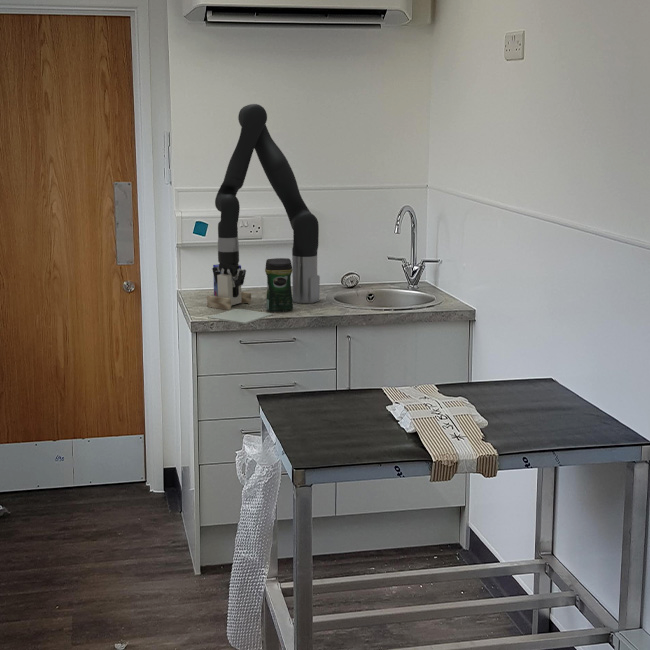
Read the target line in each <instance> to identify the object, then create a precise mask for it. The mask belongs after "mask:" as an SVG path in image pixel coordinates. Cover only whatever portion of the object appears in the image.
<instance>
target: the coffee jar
mask: <svg viewBox="0 0 650 650" xmlns="http://www.w3.org/2000/svg"><path fill="white" fill-rule="evenodd" d="M264 270H265V271H264V272H265V274H266V278H267V279H266V282H267V283H266V286H267V287H266V296H265V297H266V299H265V301H266V302H265V310H266V311H267V312H271V313H273V312H274V313H282V312H283V311H284V312H290V311H292V310H294V302H293V291H292V285H291V284H292V280H291V277H292V260H291V259H290V258H287V257H285V258H283V257H282V258H281V257H280V258H279V257H277V258H267V259H266V261H265V267H264Z"/></svg>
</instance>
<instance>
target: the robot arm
mask: <svg viewBox="0 0 650 650" xmlns="http://www.w3.org/2000/svg"><path fill="white" fill-rule="evenodd" d="M237 119H238V123H239V125H240V134H239V138H238V141H237V144H236V146H235V149H234V150H233V153H232V154H231V157H230V160H229V162H228V164H227V167H226V172H225V175H224V178H223V182H222V183H221V185H220V186H219V189H218V191H217V193H216V196H215V201H214V206H215V208H216V210H218V211H219V212H220V220H219V222H218V224H217V235H218V236H217V259H218V260H217V261H218V264H219V266H218V267H214V268H213V267H212V268H211V270H212V273H213V274H214V275H213V279H214V278H215V282H216V283H217V284H218V281H217V275H220V272H221V274H228V275H231V281H232V285H233V297H238V295H239V286H240V285H241V286H243V285H244V283H245V279H246V278H245V277H246V272H247V270H246V269H242V268H241V269H240V268H239V265H240V264H239V262H240V242H239V235H238V233H239V231H238V230H239V229H238V223H239V219H240V218H239V216H240V210H241V209H240V202H239V199H238V197H237V195H238V192H239V190H240V189H242V188H243V186H244V183H245V180H246V177H247V173H248V170H249V167H250V163H251V160H252V156H253V153H254V151H255V153H256V155H257V157H258V158H257V159H258V161H259V163H260V165H261V167H262V169H263V172H264V174H265V176H266V178H267V180H268V182H269V184H270V185H271V187H272V189H273V191H274V192H275V194H276V196H277V197H278V199H279V200H280V202H281V204H282V205H283V207H284V210H285V212H286V215H287V217H288V220H289V223H290V226H291V229H292V231H293V232H292V233H293V234H292V235H293V239H292V241H293V243H292V247H291V249H292V250H291V255H292V256H291V257H292V258H291V259H292V260H291V264H292V273H291V277H292V280H291V284H292V285H291V291H292V299H293V303H297V304H313V303H317V302H319V301H321V300H320V298H321V297H320V296H321V295H320V292H321V291H320V288H321V287H320V285H321V284H320V275H318V250H319V237H320V235H319V231H320V229H319V227H320V226H319V221H318V218H317V217H316V216H315V215H314V214H313V213H312V212H311V211H310V209H309V207H308V206H307V204H306V203H305V201H304V199H303V198H302V195H301V193H300V189H299V186H298V181H297V179H296V176H295V173H294V171H293V169H292V167H291V165H290V163H289V161H288V159H287V157H286V155H285V154H284V153H283V151H282V150H281V149H280V147H279V146H278V145H277V143H276V142H275V141H274V139H273V138H272V137H271V134H270V132H269V130H268V126H267V125H266V123H267V121H268V114H267V110H266V109H265V108H264V107H263V106H262V105H260V104H257V103H250V104H247V105H245V106H243V107H242V108H241V109H240V111H239V112H238V116H237ZM238 264H239V265H238ZM237 273H238V274H237ZM235 276H236V278H233V277H235ZM235 281H236V283H235Z"/></svg>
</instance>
